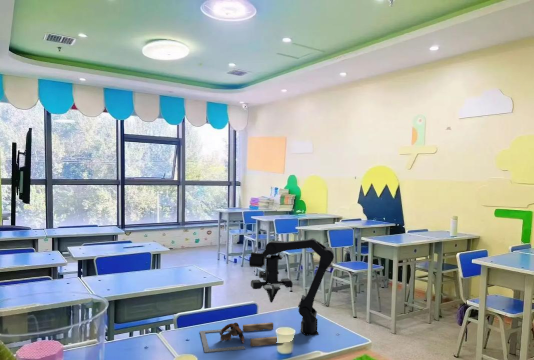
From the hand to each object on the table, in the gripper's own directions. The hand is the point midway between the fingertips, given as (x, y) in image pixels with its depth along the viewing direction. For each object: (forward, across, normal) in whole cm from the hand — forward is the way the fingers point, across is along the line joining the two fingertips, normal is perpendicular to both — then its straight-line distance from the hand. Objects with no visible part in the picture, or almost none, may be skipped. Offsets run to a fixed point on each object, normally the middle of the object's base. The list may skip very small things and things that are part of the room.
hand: (271, 302), depth 172 cm
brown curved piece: (+12, +19, +10) cm, 25 cm away
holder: (+12, +6, +8) cm, 16 cm away
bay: (+12, +23, +8) cm, 27 cm away
